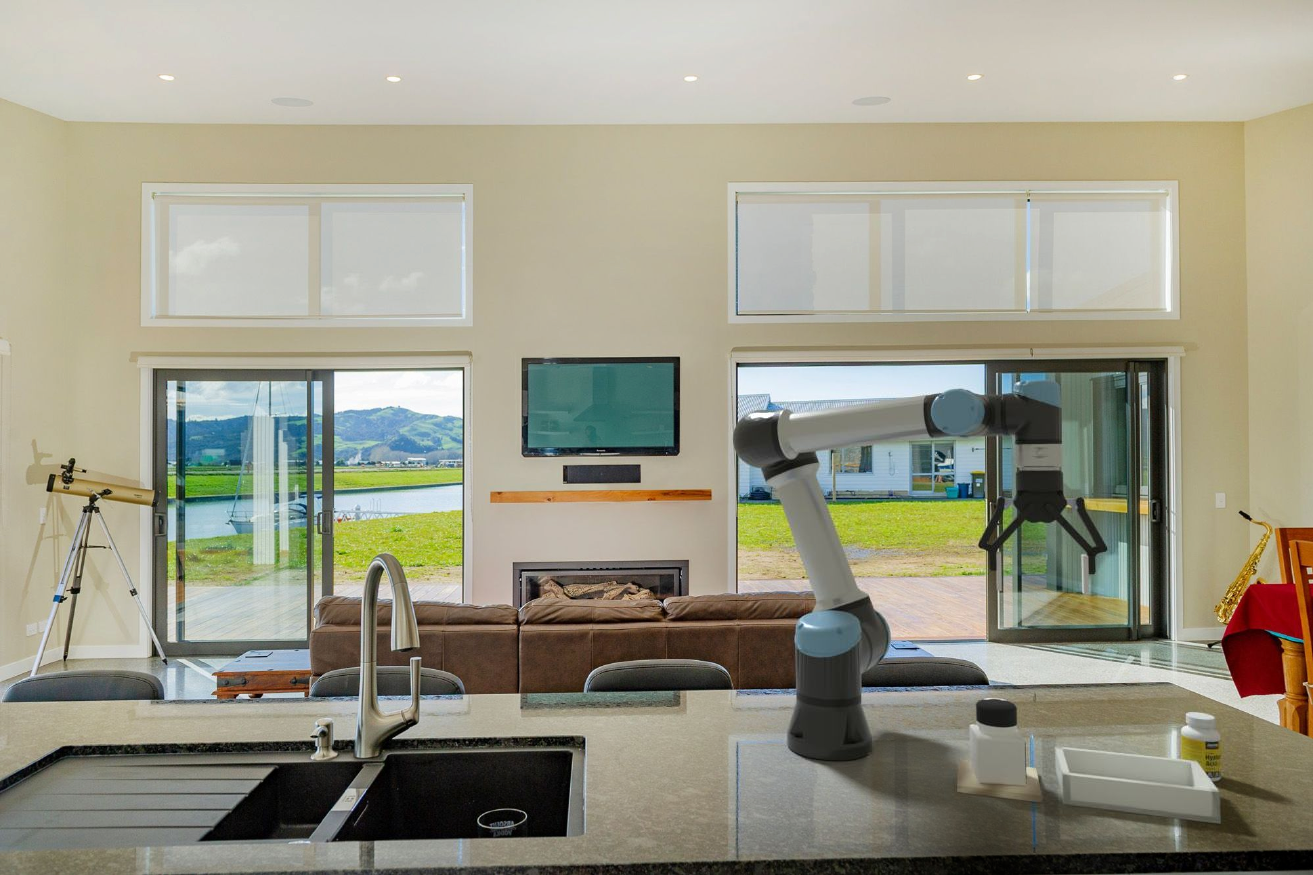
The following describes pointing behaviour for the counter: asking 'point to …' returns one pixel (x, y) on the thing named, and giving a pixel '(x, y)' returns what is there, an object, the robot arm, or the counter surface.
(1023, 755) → the medicine bottle
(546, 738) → the counter surface
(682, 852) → the counter surface
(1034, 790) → the board
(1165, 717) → the counter surface
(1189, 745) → the supplement bottle
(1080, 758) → the parts bin
